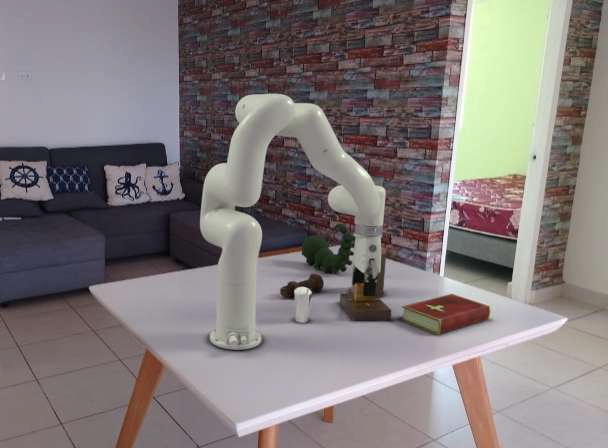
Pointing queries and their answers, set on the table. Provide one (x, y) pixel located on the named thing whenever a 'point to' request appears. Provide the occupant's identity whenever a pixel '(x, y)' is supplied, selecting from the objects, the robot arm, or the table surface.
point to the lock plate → (365, 308)
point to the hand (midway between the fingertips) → (363, 290)
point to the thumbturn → (361, 293)
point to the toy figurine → (328, 251)
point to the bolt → (303, 285)
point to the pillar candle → (380, 275)
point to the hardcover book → (445, 313)
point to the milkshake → (302, 304)
